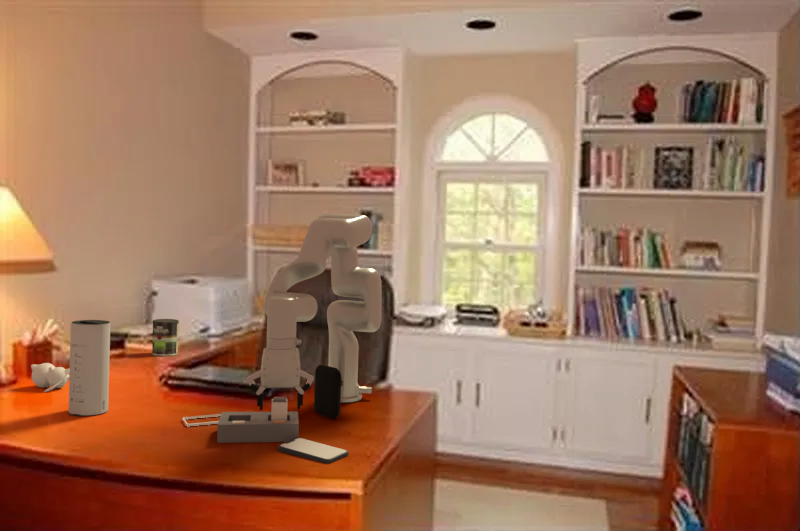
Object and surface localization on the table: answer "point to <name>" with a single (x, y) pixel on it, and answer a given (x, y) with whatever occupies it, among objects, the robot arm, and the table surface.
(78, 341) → the speaker
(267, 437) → the hub
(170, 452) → the table surface
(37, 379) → the cat figurine
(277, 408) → the plug
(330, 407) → the carrying case or bag
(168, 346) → the coffee can
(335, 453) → the phone case
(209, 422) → the phone case
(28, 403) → the table surface
